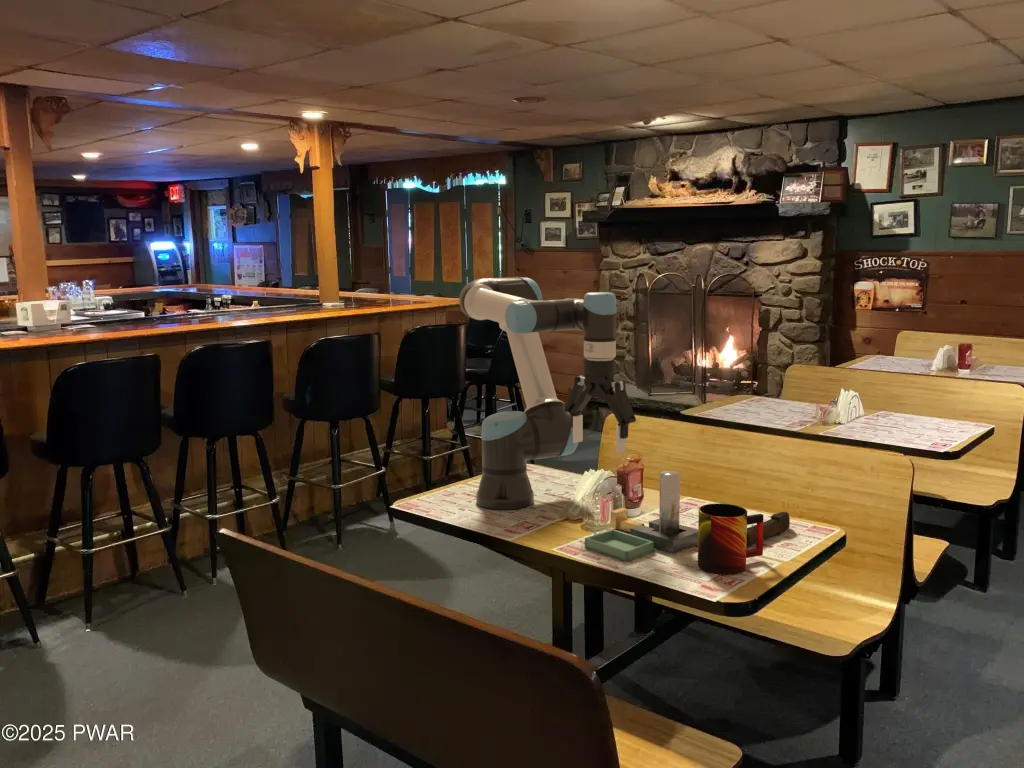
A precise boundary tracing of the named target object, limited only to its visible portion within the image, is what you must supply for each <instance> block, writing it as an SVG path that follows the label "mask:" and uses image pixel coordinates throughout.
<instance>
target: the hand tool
mask: <svg viewBox="0 0 1024 768" xmlns="http://www.w3.org/2000/svg"><path fill="white" fill-rule="evenodd" d="M790 522H791V519H790V514H789V512H787V511H780V512H778V513H777V512H776V513H774V514H772V515H771V516H770V519H767V520H766V521H763V540H765V539H766V538H769V537H772V536H773V535H778V536H779V535H782V534H785V533H786V532H788V530H789V529H790V527H791V526H790V525H791V523H790ZM756 531H757V524H754V525H751V526H749V527H747V543H746V549H748V548H749V546H751V547H752V546H753V543H756Z"/></svg>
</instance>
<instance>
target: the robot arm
mask: <svg viewBox="0 0 1024 768" xmlns="http://www.w3.org/2000/svg"><path fill="white" fill-rule="evenodd" d="M458 301H459V307H460V309H461V311H462V312H463V314H464V315H466V316H467V318H468V317H469V318H471V319H474V320H477V321H485V320H488V321H489V320H490V321H493V322H496V323H498V326H499V329H501V330H502V331H503V332H506V335H507V340H508V343H509V347H510V349H511V350H510V351H511V353H512V357H513V361H514V366H515V368H516V372H517V376H518V380H519V383H520V386H521V387H520V388H521V391H522V394H523V398H524V402H525V405H526V407H525V410H524V411H522V410H521V411H519V410H512V411H508V410H507V411H501V412H497V413H493V414H491V415H488V416H487V417H485V418H484V419H483V420H482V423H481V433H480V439H481V461H482V463H481V464H482V465H481V468H482V474H481V479H480V481H479V484H478V489H477V491H476V495H475V498H476V499H475V500H476V501H475V502H476V504H477V505H478V506H479V507H481V508H482V507H483V508H486V509H490V510H499V511H500V510H501V511H504V510H506V511H507V510H516V509H517V510H518V509H521V508H526V507H529V506H531V505H532V504H533V503H534V502H535V496H534V494H535V493H534V490H533V488H532V485H531V481H530V478H529V475H528V469H527V468H528V467H527V462H528V461H532V460H541V459H549V458H551V459H552V458H560V457H563V456H569V455H571V454H573V453H575V451H576V449H577V448H578V445H579V443H580V442H581V443H582V442H583V438H584V436H583V435H584V433H583V432H584V431H583V427H584V426H583V425H584V424H583V423H584V421H583V420H584V418H583V417H584V415H583V413H582V412H583V410H584V409H585V407H586V406H587V405H588V403H589V402H590V401H591V399H592V398H597V399H603V401H605V402H606V403H607V404H606V405H608V407H609V409H610V410H611V412H612V415H614V418H615V419H616V421H617V422H618V423H617V424H616V425H615V453H623V452H625V451H626V449H627V439H628V438H629V426H630V424H632V423H635V422H636V421H637V419H636V416H635V413H634V410H633V407H632V405H631V404H632V403H630V399H629V396H628V394H627V391H626V390H627V389H626V382H625V381H623V380H621V381H615V380H614V377H615V375H616V369H617V367H616V364H617V363H616V360H615V359H614V358H616V356H617V350H616V349H617V347H616V346H617V339H616V338H617V312H618V307H617V296H616V295H615V293H613V292H610V291H609V292H608V291H607V292H606V291H605V292H603V291H599V292H598V291H595V292H594V291H592V292H586V293H585V294H584V297H583V298H579V297H569V298H565V299H549V300H543V295H542V291H541V289H540V287H539V285H538V283H537V282H536V281H535V280H534V279H532V278H529V277H521V276H513V277H489V278H488V277H487V278H486V277H483V278H476V279H475V280H472V281H470V282H469V283H468V282H467V284H466V285H465V286H464V287H462V290H461V292H460V294H459V299H458ZM560 331H561V332H563V331H583V357H584V358H585V359H584V360H583V375H577V376H575V377H574V381H573V387H572V389H571V392H570V395H569V397H568V399H567V402H566V404H565V402H564V401H563V400H560V399H558V397H557V393H556V390H555V385H554V384H553V379H552V376H551V372H550V367H549V365H548V362H547V358H546V353H545V352H544V348H543V344H542V341H541V337H540V334H539V332H541V333H543V332H560ZM584 388H585V389H584Z"/></svg>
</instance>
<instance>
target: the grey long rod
mask: <svg viewBox="0 0 1024 768" xmlns="http://www.w3.org/2000/svg"><path fill="white" fill-rule="evenodd" d="M680 499H681V473H680V472H678V471H674V470H663V471H661V472H659V499H658V500H659V509H658V514H659V517H658V519H659V533H662V534H666V535H669V536H673V535H676V534H679V525H680V518H681V517H680V515H681V514H680V513H681V512H680V511H681V510H680V507H681V504H680V503H681V500H680Z"/></svg>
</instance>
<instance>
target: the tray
mask: <svg viewBox="0 0 1024 768" xmlns="http://www.w3.org/2000/svg"><path fill="white" fill-rule="evenodd" d="M584 548H585V549H587V550H590V551H593V552H596V553H599V554H602V555H605V556H608V557H611V558H614V559H617V560H620V561H622V562H625V563H627V562H630V561H633V560H635V559H638V558H642V557H643V556H646V555H650V554H652V553H654V552H655V549H654V542H653V541H650V540H646V539H643V538H640V537H637V536H633V535H630V533H627V532H625V531H624V532H622V531H621V530H618V529H613V528H610V529H609V530H606V531H605V530H604V531H602V532H599V533H596V534H593V535H590V536H588V537H585V538H584Z"/></svg>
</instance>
